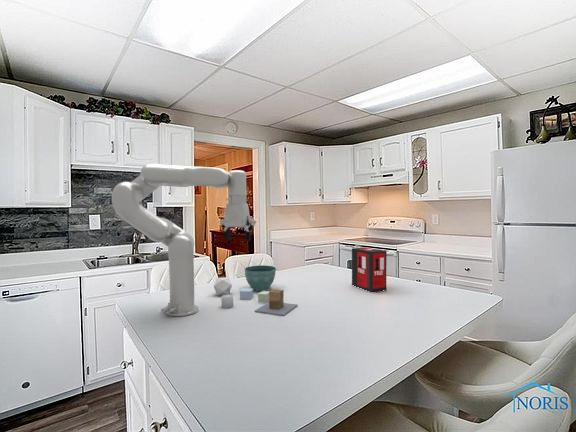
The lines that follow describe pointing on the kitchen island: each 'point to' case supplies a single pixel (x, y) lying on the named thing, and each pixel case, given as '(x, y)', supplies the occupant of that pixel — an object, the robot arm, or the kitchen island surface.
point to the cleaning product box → (369, 269)
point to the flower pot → (260, 277)
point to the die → (222, 286)
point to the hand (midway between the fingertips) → (237, 240)
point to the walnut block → (276, 299)
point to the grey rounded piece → (227, 301)
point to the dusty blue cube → (246, 294)
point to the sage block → (263, 297)
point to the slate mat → (280, 312)
